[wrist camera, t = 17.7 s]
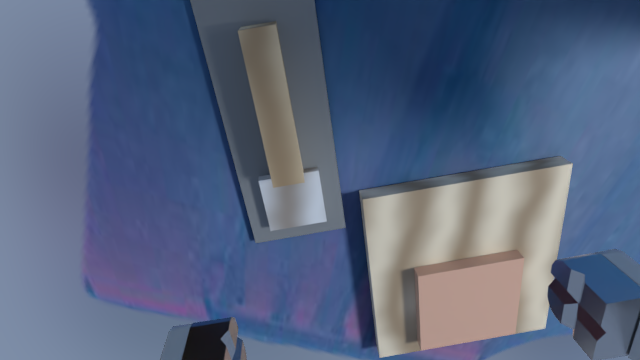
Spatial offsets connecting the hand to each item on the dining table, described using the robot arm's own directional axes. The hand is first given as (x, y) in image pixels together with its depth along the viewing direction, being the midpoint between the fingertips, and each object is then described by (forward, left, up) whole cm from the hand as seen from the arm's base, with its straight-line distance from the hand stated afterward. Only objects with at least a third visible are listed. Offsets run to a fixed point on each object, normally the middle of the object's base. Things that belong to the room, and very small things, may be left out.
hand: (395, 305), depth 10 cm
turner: (+4, +5, -29) cm, 29 cm away
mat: (+4, +4, -29) cm, 30 cm away
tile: (-14, +23, -26) cm, 38 cm away
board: (-14, +25, -29) cm, 41 cm away
